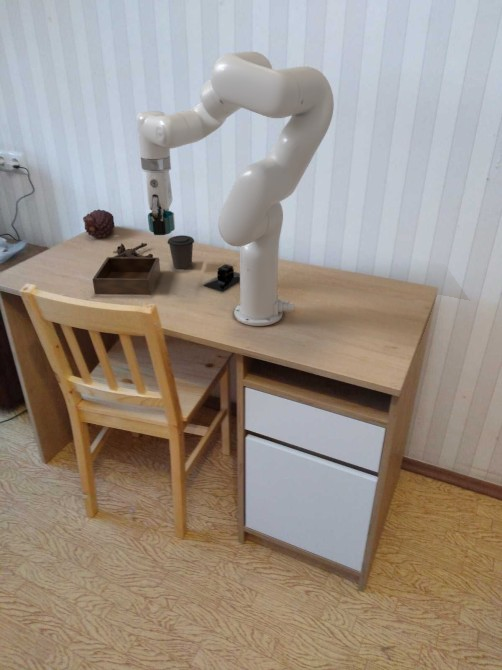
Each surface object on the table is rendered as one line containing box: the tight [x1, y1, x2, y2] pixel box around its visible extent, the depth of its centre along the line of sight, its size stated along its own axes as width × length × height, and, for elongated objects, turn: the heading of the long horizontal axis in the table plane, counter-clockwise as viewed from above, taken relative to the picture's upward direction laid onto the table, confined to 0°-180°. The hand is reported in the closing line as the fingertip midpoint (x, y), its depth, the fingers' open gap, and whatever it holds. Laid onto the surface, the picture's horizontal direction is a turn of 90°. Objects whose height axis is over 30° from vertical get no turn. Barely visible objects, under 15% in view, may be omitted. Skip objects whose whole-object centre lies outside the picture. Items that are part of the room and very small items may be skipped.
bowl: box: [147, 210, 176, 236], centre depth 145 cm, size 7×7×5 cm
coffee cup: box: [166, 234, 195, 271], centre depth 163 cm, size 8×8×10 cm
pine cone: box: [82, 209, 116, 239], centre depth 188 cm, size 18×10×10 cm
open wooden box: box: [92, 256, 161, 296], centre depth 154 cm, size 16×16×5 cm
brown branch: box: [112, 242, 154, 258], centre depth 171 cm, size 18×4×14 cm
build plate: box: [203, 263, 240, 293], centre depth 156 cm, size 12×7×5 cm, turn 145°
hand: (162, 229), depth 146 cm, fingers closed on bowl, 7 cm apart
